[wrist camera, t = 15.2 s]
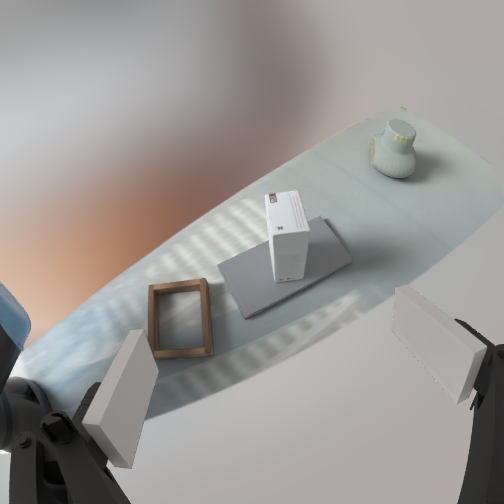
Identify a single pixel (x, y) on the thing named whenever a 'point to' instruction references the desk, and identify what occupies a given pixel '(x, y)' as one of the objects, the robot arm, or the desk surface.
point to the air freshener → (394, 149)
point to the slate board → (262, 278)
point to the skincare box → (287, 235)
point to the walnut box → (153, 318)
